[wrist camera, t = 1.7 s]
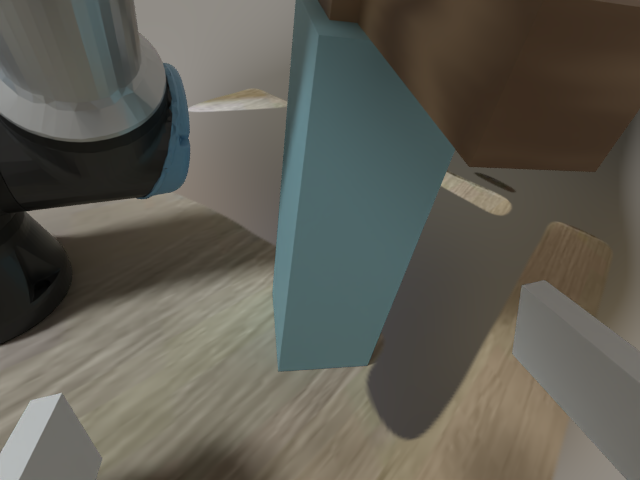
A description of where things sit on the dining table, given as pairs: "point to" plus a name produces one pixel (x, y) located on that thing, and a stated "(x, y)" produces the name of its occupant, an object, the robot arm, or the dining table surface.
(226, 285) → the dining table surface
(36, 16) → the robot arm
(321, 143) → the stand
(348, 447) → the dining table surface
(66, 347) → the dining table surface
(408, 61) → the brown wooden block
